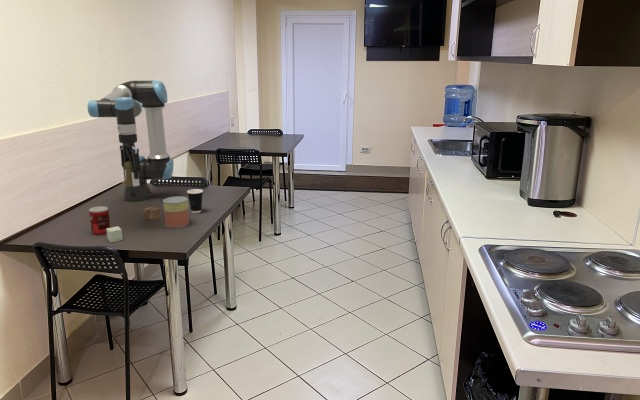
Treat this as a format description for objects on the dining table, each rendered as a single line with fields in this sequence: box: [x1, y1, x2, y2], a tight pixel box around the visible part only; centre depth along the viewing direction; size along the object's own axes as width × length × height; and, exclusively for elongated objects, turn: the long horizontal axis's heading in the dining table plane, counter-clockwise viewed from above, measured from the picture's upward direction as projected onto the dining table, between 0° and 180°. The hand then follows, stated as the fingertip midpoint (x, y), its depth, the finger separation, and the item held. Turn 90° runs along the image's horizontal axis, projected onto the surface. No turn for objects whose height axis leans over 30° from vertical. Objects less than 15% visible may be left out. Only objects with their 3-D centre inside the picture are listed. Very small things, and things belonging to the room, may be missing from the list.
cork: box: [125, 161, 140, 187], centre depth 214 cm, size 6×6×11 cm
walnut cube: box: [143, 206, 161, 221], centre depth 235 cm, size 5×5×5 cm
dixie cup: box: [186, 188, 204, 214], centre depth 244 cm, size 8×8×11 cm
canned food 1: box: [88, 205, 111, 236], centre depth 214 cm, size 8×8×11 cm
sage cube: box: [106, 225, 124, 243], centre depth 206 cm, size 5×5×5 cm
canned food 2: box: [162, 195, 190, 228], centre depth 226 cm, size 11×11×12 cm
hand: (132, 184), depth 216 cm, fingers closed on cork, 6 cm apart
